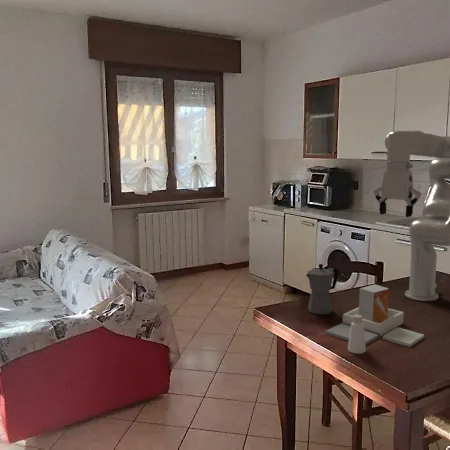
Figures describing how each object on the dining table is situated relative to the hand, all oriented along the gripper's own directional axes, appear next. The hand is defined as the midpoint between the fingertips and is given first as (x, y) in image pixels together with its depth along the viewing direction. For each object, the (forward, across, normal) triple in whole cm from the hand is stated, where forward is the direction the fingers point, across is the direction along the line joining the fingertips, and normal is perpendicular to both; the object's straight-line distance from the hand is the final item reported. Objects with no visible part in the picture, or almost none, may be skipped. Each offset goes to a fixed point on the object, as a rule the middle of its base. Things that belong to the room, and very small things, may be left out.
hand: (395, 215), depth 169 cm
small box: (+37, -1, +14) cm, 40 cm away
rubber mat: (+37, -14, +18) cm, 43 cm away
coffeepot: (+37, +20, +14) cm, 44 cm away
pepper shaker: (+37, -8, +36) cm, 53 cm away
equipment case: (+37, -1, +19) cm, 42 cm away
